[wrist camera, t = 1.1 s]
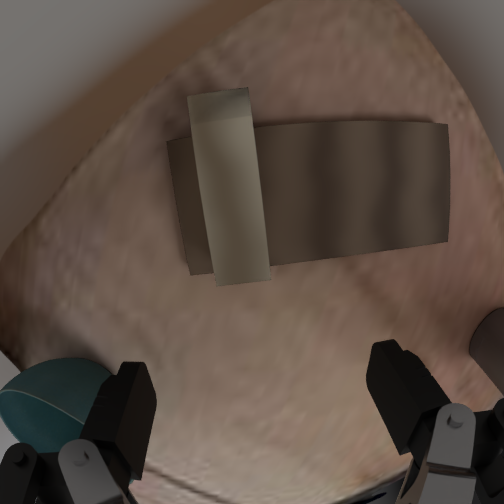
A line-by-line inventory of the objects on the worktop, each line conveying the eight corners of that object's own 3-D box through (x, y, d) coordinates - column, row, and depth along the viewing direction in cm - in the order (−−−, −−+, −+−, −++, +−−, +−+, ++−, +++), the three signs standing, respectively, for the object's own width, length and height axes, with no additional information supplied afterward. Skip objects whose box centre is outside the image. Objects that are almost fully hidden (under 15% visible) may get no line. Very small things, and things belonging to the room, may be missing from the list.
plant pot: (124, 437, 39) (106, 497, 28) (29, 374, 35) (-7, 426, 23) (179, 384, 35) (162, 465, 23) (56, 299, 30) (-1, 360, 19)
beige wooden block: (247, 101, 24) (247, 87, 18) (266, 257, 29) (272, 288, 22) (200, 107, 24) (187, 96, 18) (223, 262, 29) (218, 294, 23)
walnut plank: (436, 124, 25) (447, 124, 23) (437, 236, 29) (447, 241, 27) (171, 141, 25) (166, 141, 23) (193, 267, 29) (190, 275, 27)
